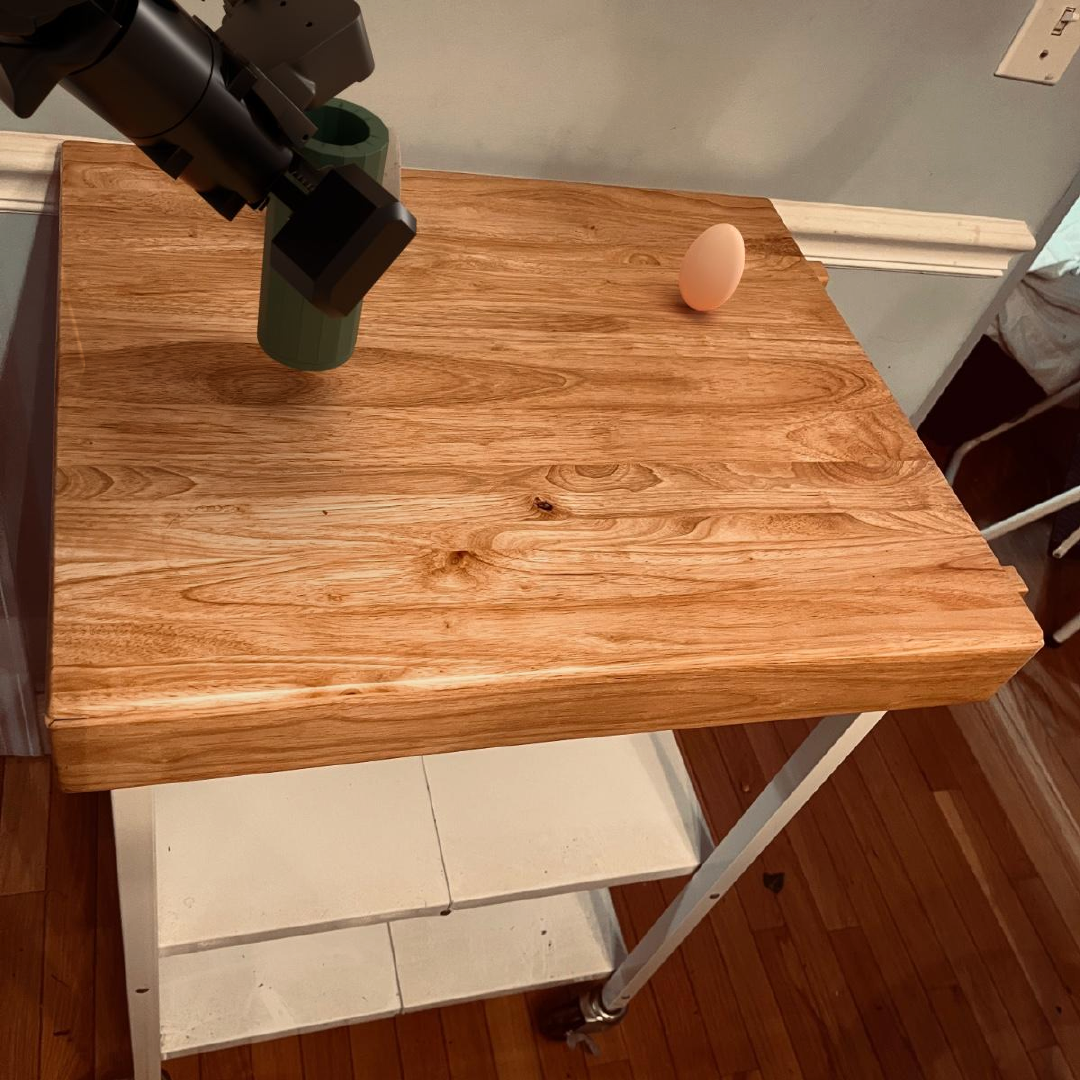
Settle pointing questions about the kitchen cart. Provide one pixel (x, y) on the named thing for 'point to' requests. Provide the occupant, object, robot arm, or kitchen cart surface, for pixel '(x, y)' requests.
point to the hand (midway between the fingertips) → (337, 236)
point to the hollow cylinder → (284, 313)
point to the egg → (712, 267)
